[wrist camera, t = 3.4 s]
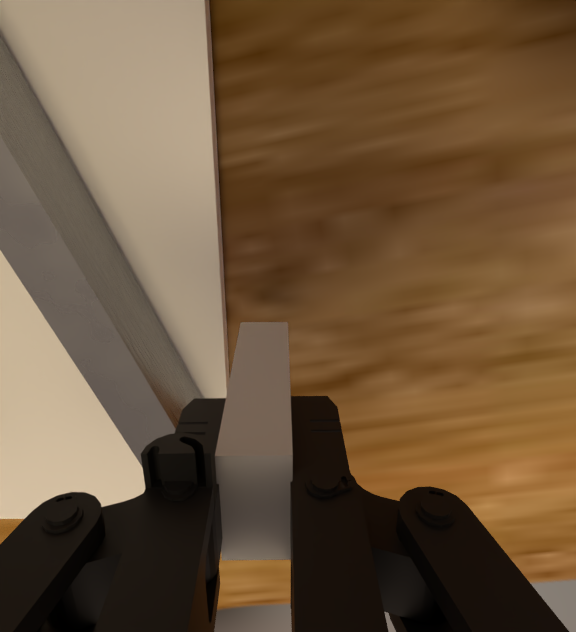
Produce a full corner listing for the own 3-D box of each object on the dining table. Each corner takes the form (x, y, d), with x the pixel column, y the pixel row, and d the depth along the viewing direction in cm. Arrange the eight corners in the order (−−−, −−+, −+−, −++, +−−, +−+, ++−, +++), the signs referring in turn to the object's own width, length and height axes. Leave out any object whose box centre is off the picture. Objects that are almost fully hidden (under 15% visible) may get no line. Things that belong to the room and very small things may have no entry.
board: (-439, -515, 12) (-510, -575, 11) (182, -510, 13) (172, -570, 11) (-65, 501, 26) (-81, 519, 25) (235, 500, 26) (234, 517, 25)
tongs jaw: (-216, -216, 14) (-371, -317, 10) (-159, -253, 13) (-301, -368, 10) (175, 435, 22) (157, 489, 19) (214, 421, 22) (202, 474, 19)
